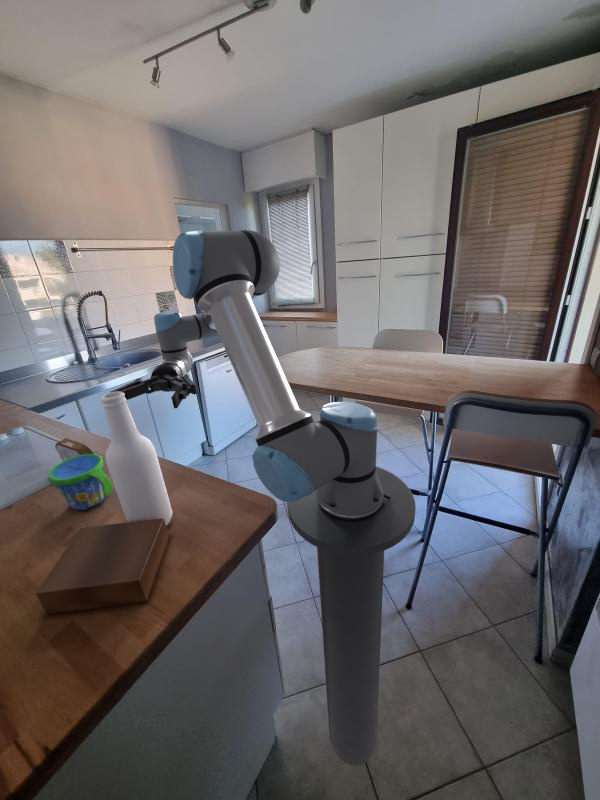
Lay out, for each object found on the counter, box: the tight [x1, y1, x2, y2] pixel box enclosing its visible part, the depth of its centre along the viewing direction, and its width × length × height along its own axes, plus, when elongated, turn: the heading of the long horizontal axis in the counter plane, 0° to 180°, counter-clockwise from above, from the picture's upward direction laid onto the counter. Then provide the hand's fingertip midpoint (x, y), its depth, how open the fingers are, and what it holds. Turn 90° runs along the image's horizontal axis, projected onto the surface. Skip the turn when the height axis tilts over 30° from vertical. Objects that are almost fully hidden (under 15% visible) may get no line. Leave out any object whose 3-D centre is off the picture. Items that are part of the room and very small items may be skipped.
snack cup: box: [48, 453, 114, 511], centre depth 79 cm, size 16×10×10 cm
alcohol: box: [99, 391, 173, 527], centre depth 66 cm, size 9×9×30 cm
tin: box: [54, 437, 95, 462], centre depth 93 cm, size 15×3×8 cm, turn 62°
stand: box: [35, 518, 170, 615], centre depth 60 cm, size 16×14×5 cm
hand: (143, 405), depth 74 cm, fingers open, 13 cm apart
